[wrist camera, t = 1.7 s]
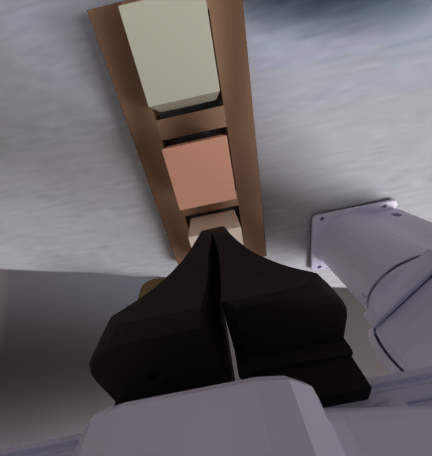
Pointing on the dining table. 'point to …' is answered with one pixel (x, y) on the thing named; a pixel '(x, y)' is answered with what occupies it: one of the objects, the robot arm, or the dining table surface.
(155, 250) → the dining table surface
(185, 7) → the sage button
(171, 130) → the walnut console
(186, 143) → the terracotta button
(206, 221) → the cream button
